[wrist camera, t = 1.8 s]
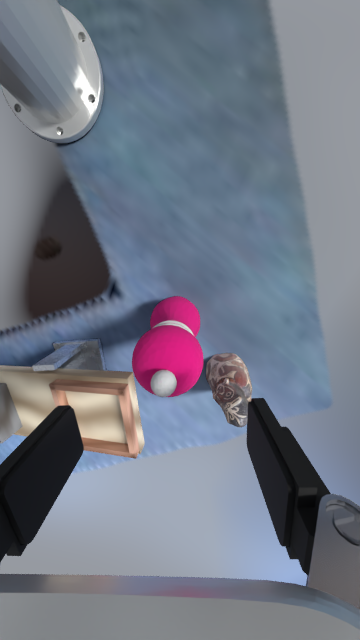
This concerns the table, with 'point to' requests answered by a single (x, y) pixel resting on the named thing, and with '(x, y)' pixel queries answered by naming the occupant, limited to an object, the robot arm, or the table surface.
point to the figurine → (230, 386)
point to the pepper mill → (169, 349)
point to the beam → (74, 405)
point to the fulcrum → (74, 356)
